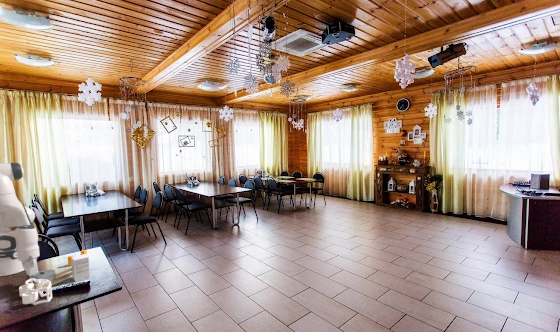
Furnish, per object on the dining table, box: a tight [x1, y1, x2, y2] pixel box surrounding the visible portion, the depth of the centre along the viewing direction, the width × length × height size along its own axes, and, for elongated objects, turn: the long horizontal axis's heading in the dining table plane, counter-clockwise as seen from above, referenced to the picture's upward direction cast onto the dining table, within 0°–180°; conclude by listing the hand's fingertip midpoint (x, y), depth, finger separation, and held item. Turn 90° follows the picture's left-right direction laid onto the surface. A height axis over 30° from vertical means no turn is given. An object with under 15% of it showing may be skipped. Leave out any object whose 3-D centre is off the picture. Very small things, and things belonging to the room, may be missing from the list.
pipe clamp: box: [67, 249, 88, 267], centre depth 183 cm, size 12×4×6 cm, turn 172°
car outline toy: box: [18, 278, 53, 306], centre depth 139 cm, size 20×11×7 cm, turn 49°
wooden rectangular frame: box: [32, 267, 73, 290], centre depth 158 cm, size 7×24×8 cm, turn 162°
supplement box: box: [71, 254, 91, 282], centre depth 160 cm, size 7×7×13 cm
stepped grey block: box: [25, 270, 40, 284], centre depth 153 cm, size 4×4×8 cm
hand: (31, 279), depth 152 cm, fingers open, 7 cm apart
